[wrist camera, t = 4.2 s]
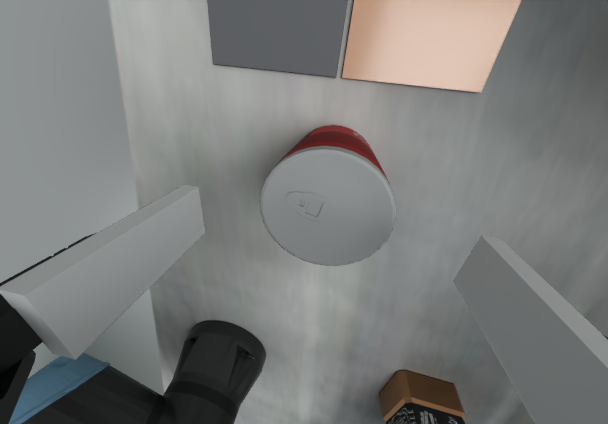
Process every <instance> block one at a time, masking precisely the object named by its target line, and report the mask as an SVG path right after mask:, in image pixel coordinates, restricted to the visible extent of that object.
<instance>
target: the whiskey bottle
mask: <svg viewBox="0 0 608 424" xmlns="http://www.w3.org/2000/svg"><path fill="white" fill-rule="evenodd" d="M379 396H380V403H381V409H382V416H383V419H384V420H385V422H386V424H465V422H464V419H465V417H466V416H465V413H464V410H463V407H462V404H461V401H460V398H459V395H458V392H457V389H456V387H455V386H454V384H451V383H447V382H444V381H440V380H437V379H434V378H430V377H427V376H423V375H420V374H416V373H413V372H409V371H406V370H403V371H397V373H396V374H395V375H394V376H393V377H392V379H391V380H390V381H389V382H388V383H387V385H386V386H385V387H384V388H383V389H382V391H381V392H380V393H379Z"/></svg>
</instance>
